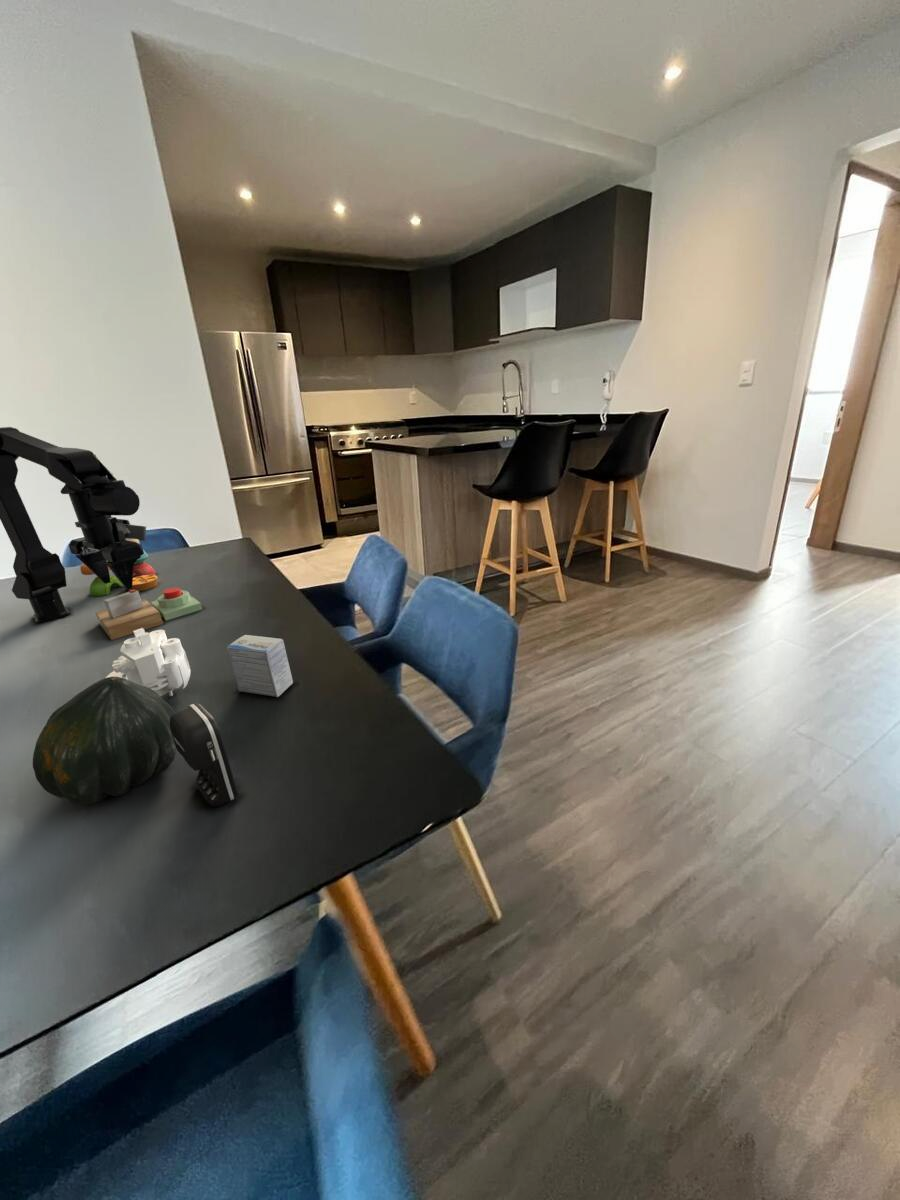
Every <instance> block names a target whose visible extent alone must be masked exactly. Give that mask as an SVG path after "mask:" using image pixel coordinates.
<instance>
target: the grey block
mask: <svg viewBox="0 0 900 1200" xmlns="http://www.w3.org/2000/svg"><path fill="white" fill-rule="evenodd" d="M141 600H142V599H141V595H140V591H137V590H134V589H133V590H130V591H129V590H128V591H127V592H124V593H121V594H118V595H114V596H112V597H109V598H105V599H103V602H104V604H105V607H106V610H108V613H109V616H110V617H112V618H115V617H118V616H121V615H123V614H126V613H129V612H132V611H134V610H137V609H140V608H142V607H143V604H142V601H141Z"/></svg>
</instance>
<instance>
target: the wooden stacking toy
mask: <svg viewBox="0 0 900 1200" xmlns="http://www.w3.org/2000/svg"><path fill="white" fill-rule="evenodd" d="M126 541H133V542H137V543H138V544H140V545H141V543H140V540H139V539H128V538H126ZM143 551H144V554H143V555H141V557H140V558H139V559H137V560H136V562H135V563H134V566H133V585H132V588H131V589H127V590H128V592H129V591H130V590H133V589H134V590H137V591H138V592H143V591H148V590H151V589H154V588H155V587H157V585H158V576H157V575H156V574H157V573H156V571H155V569H154V568H153V567H152V566H151V565H150V564H148V563H145V561H147V559H148V558H149V555H148V553H147V552H146V551H145V549H143ZM107 562H108V561H107ZM108 570H109V571H111V570H110V568H109V567H108ZM80 573H81V575H83V576H90V575H96V574H95V573H93V572H92V571H91V570H90V569H89V568H88V567H87V566H86V565H85V564H84V563H83V562H82V564H80ZM109 575H110V583H107V584H105V583H104V582H103V581H102V580H101V579H100V578H99V577H98V576H96V577H94V579H93V581H91V583H90V585H89V595H90V596H92V597H102V596H107V595H109V594H110V592H111V588H121V587H123V588H124V586H123V585H122V583H121V582H120V581H119V580H118V578H117V577H116V576H115V575H111V574H109ZM134 576H135V577H134Z"/></svg>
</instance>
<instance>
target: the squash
mask: <svg viewBox="0 0 900 1200" xmlns="http://www.w3.org/2000/svg"><path fill="white" fill-rule="evenodd" d="M174 713H176V712H175V711H174V709H173V707H172V706H171V705H170V704H169V703H168V701H165V700H164V699H163V698H162V696H161V697H160V696H159V695H158V694H157V693H156V692H155V691H154V690H152V689H150V688H148V687H146V686H144V685H142V684H139V683H135V682H133V681H130V680H127V679H124V678H120V677H108V678H106V677H105V678H101V679H100V680H98V681H96V682H94V683H93V684H91V685H89V686H88V687H86V688H85V689H83V690H81V691H79V692H78V693H77V694H76V695H74V696H73V697H72V698H71V699H69V700H68V701H66V702H65V703H63V704H62V705H60V706H59V707H58V708H56V710H55V711H53V712H52V713H51V715H50V716H49V717H48V719H47V721H46V723H45V725H44V727H43V728H42V730H41V732H40V733H39V735H38V738H37V740H36V742H35V746H34V750H33V754H32V769H33V772H34V776H35V778H36V781H37V782H38V784H39V785H40V786H41V787H42V789H43V790H44V791H45V792H46V793H48V794H50V795H52V796H54V797H57V798H59V799H65V800H67V801H69V802H70V803H72V804H74V805H79V806H85V805H86V806H87V805H93V804H96V803H99V802H100V801H102V800H103V799H105V798H106V797H107V796H108V795H109V796H114V797H118V796H121V795H124V794H126V793H127V792H128V791H129V790H130V788H131V786H140V785H141V784H144V783H145V782H147V780H148V779H149V778H150V777H151V778H152V777H154V776H156V775H159V774H161V773H162V772H164V771H165V770H167V769H168V768H169V767H170V766H171V765H172V763H173V762H174V760H175V758H176V752H177V749H176V746H175V743H174V739H173V736H172V732H171V728H170V724H169V723H170V718H171V716H172V715H173V714H174Z"/></svg>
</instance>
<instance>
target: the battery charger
mask: <svg viewBox="0 0 900 1200" xmlns="http://www.w3.org/2000/svg"><path fill="white" fill-rule="evenodd" d="M169 724H170V728H171V732H172V736H173V739H174V743H175V746H176V751H178V753H179V754H180V756H182V758H183V759H184V761H185V762H186V764H187V765H188V766H189V767H190V768H191V769H192V770H193V771H198V774H197V778H196V780H195V786H196V788H197V790H198V791H199V792H200V794H201V795H202V796H203V798H204V799H205V800H206V803H208V804H209V805H210V806H211V807H213V808H214V807H220V806H222V805H224V804H227V803H228V802H230V801H231V802H232V801H233V800H235V798H237V797H238V795H239V791H238V788H237V784H236V781H235V778H234V773H233V771H232V767H231V763H230V759H229V757H228V753H227V749H226V746H225V743H224V740H223V736H222V733H221V730H220V727H219V725H218V723H217V721H216V719H215V718H214V716H213V715H212V714H211V713H210V712H209V711H208V710H207V709H206V708H205V707H204V706H203V705H202V704H201V703H200V702H199V703H198V702H197V703H192V704H189V705H188V706H187V707H185V708H182V709H180V710H178V711H176V712H175V713H174V714H173V715H172V716H171V718H170V723H169Z"/></svg>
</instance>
